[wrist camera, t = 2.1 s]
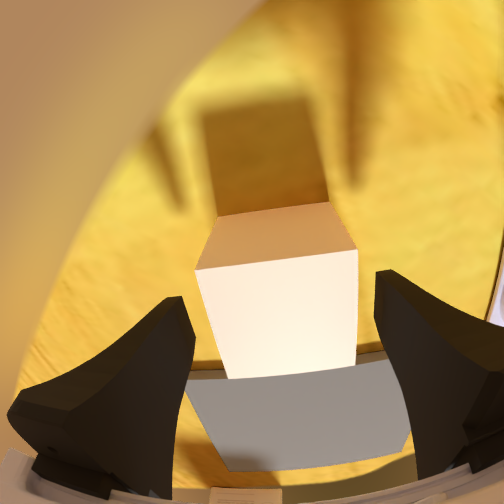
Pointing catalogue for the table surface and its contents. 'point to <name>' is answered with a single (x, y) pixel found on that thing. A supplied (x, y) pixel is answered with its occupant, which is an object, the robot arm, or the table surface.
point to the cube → (281, 291)
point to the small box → (245, 496)
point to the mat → (302, 415)
